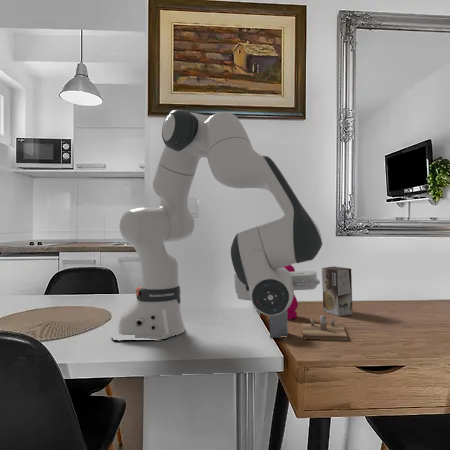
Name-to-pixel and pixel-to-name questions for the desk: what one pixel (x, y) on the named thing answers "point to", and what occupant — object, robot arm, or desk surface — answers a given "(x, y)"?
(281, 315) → the grey slotted block
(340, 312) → the coffee box
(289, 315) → the pepper mill
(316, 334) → the post plate
